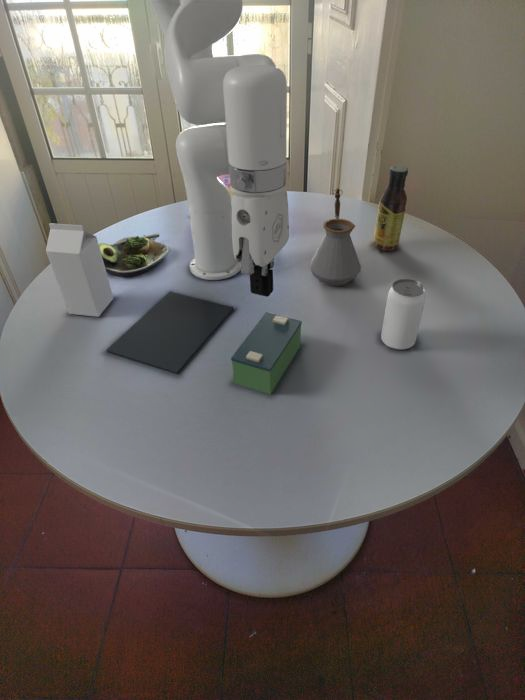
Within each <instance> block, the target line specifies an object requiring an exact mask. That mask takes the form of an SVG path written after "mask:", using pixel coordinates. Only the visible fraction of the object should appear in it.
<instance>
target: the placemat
mask: <svg viewBox="0 0 525 700" xmlns="http://www.w3.org/2000/svg"><path fill="white" fill-rule="evenodd" d="M233 310H234V306H230V305H225V304H222V303H218V302H214V301H211V300H210V301H209V300H205V299H203V298H198V297H194V296H190V295H186V294H181V293H177V292H174V291H169V292H168V293H167V294H165V296H163V297H162V298H161V299H160V300H159V301H158V302H157V303H156V304H155V305H153V307H151V308H150V309H149V310H148V311H147V312H146V313H145V314H144V315H143V316H141V317H140V318H139V319H138V320H137V321H136V322H135V323H134V324H133V325H132V326H131V327H129V328H128V330H126V331H125V332H124V333H122V335H121V336H120V337H118V338H117V339H116V340H115V341H114V342H113V343H112V344H111V345H110V346H109V347H108V348H107V349H106V353H108V354H111V355H114V356H119V357H121V358H124V359H128V360H131V361H134V362H137V363H141V364H144V365H146V366H149V367H153V368H156V369H159V370H162V371H166V372H168V373H172V374H174V375H178V374H179V373H181V370H182V369H184V367H185V366H186V365H187V364H188V363H189V361H191V359H192V358H193V357H194V356H195V354H196V353H197V352H198V351H199V350H200V349H201V347H202V346H204V344H205V343H206V342H207V341H208V340H209V338H210V337H211V336H212V335H213V334H214V333H215V331H216V330H217V329H218V328H219V327H220V326H221V324H222V323H223V322H224V321H225V320H226V319H227V317H228V316H229V315H230V314H231V313H232V312H233Z"/></svg>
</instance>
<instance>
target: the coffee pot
mask: <svg viewBox="0 0 525 700" xmlns="http://www.w3.org/2000/svg"><path fill="white" fill-rule="evenodd" d="M334 192H335V193H334ZM343 193H344V192H343V190H342V189H340V188H336V189H334V190H333V191H332V194H333V195H334V198H335V201H334V217H335V218H331V219H327V220H325V221H324V222H323V225H322V227H323V229H324V230H325V234H324V236H323V238H322V239H321V241H320V244H319V245H318V247H317V249H316V251H315V253H314V255H313V257H312V258H311V260H310V263H309V269H310V272H311V274H312V275H313V277H315V279H317V280H318V281H319V282H321V283H322V284H324V285H326V286H331V287H338V286H340V287H341V286H344V285H347V284H348V283H350V282H351V281H353V280H354V279H356V278H357V277H358V275H359V273H360V272H361V266H362V265H361V263H360V259H359V257H358V254H357V252H356V248H355V246H354V243H353V240H352V237H351V233H352V232H353V230H354V229H355V228H356V225H355V224H354V223H353V222H352V221H350V220H349V219H345V218H340V211H341V200H340V198H341V196H342V194H343Z"/></svg>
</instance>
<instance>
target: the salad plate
mask: <svg viewBox="0 0 525 700" xmlns="http://www.w3.org/2000/svg"><path fill="white" fill-rule="evenodd" d="M159 237H160V233H153V234H149V235H146V234H143V236H139V235H136V236H127V237H122V238H120V239H119V240H117V241H115V242H112V243H110V244H109V243H104V242H101V243H98V244H99V248H100V251H101V255H102V258H103V262H104V266H105V269H106V273H107V274H109V275H110V276H115V277H121V278H130V277H131V278H132V277H135V276H138V275H141V274H144V273H145V272H148V270H150V269H152V268H153V267H154V266H155V265H157V264H158V263H159V262H161V261H162V260H163V259H164V258H165V257H167V256H168V254H169V252H170V248H169V246H168V245H167V244H165V243H162V242H159V241H156V239H158V238H159Z"/></svg>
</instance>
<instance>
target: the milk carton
mask: <svg viewBox="0 0 525 700" xmlns="http://www.w3.org/2000/svg"><path fill="white" fill-rule="evenodd" d="M48 226H49V228H50V229H49V233H48V238H47V243H46V247H45V252H46V256H47V258H48V260H49V263H50V266H51V269H52V272H53V274H54V277H55V280H56V282H57V286H58V288H59V292H60V293H61V296H62V299H63V302H64V305H65V307H66V310H67V314H69V315H77V316H88V317H95V318H98V317H100V316H101V315H102V314H103V312H104V311H105V310H106V309H107V308H108V306H109V305H110V304H111V302H112V301H113V300H114V294H113V289H112V288H111V287H112V286H111V284H110V280H109V276H108V273H107V272H106V269H105V266H104V262H103V258H102V255H101V251H100V248H99V244H100V243H99V240H98V237H97V236H96V235H94V234H92V233H90V232H88V231H86V230H85V229H84V226H83V224H82V225H81V224H67V223H52V222H50V223H48Z"/></svg>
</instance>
